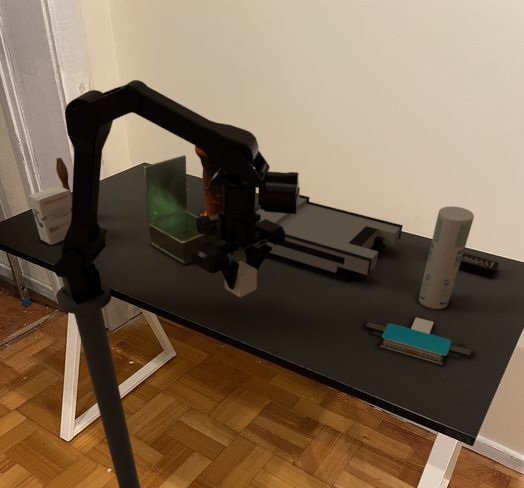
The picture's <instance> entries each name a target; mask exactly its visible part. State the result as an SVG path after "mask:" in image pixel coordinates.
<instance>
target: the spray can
mask: <svg viewBox="0 0 524 488" xmlns="http://www.w3.org/2000/svg"><path fill="white" fill-rule="evenodd" d="M474 219H475V214H474V213H473V211H471V210H469V209H468V208H465V207H462V206H461V207H460V206H444V207H441V208H440V209H438V213H437V217H436V222H435V227H434V230H433V235H432V238H431V239H432V240H431V244H430V248H429V251H428V257H427V260H426V265H425V269H424V274H423V278H422V282H421V286H420V291H419V295H418V302H419V303H420V304H421V305H422V306H424V307H425V308H429V309H432V310H441V309H445V308H446V307H448V305H449V303H450V300H451V297H452V294H453V293H452V292H453V290H454V286H455V283H456V281H457V280H456V279H457V275H458V272H459V266H460V263H461V259H462V256H463V253H465V250H466V249H465V248H466V245H467V242H468V239H469V236H470V235H469V234H470V232H471V228H472V226H473V221H474Z"/></svg>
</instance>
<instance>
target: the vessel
mask: <svg viewBox="0 0 524 488" xmlns="http://www.w3.org/2000/svg"><path fill="white" fill-rule="evenodd" d="M194 151H195V154H196V156H197V157H198V158H199V160H200V164H201V167H202V175H201V177H202V184H203V193H204V200H205V210H204V211H203V213H200V214H199V215H200V216H203V215H204V216H206V215H208V216H209V217H210V216H213V215H215V214H219V212H222V211H224V206H223V185H214V184H211V180H212V178H213V176H214V175H215V174H216V173H217V172H218V171H219V170H220V167H219V166H217V165H216V164H215V163H213V162H212V161H211V160H210V159H209V158H208V156H207V155H206V154H205V153H204V152H203V151H202V150H201V149H200V148H198V147H197V146H195V145H194Z"/></svg>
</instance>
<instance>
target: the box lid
mask: <svg viewBox="0 0 524 488" xmlns="http://www.w3.org/2000/svg"><path fill="white" fill-rule="evenodd" d="M143 172H144V173H143V175H144V186H145V187H144V188H145V189H144V190H145V201H146V216H147V223H148V224H151V223H153V222H156V221H159V220H162V219H165V218H168V217H170V216H173V215H176V214H179V213H182V212H184V211H187V210H188V207H187V206H188V204H187V203H188V202H187V200H188V199H187V197H188V196H187V195H188V194H187V156H186V154H185V155H184V154H183V155H181V156H177V157H173V158H169V159H165V160H163V161H159V162H155V163H152V164H148V165H145V166H143Z"/></svg>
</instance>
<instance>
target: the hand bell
mask: <svg viewBox="0 0 524 488" xmlns="http://www.w3.org/2000/svg"><path fill="white" fill-rule="evenodd" d="M55 168H56V169H55V171H56V173H57V176H58V179H59V180H60V182H61V185H62V187H63V188H65V189H68V190H70V193H71V198H72V190H71V188H70V184H69V171H68V168H67V165H66V163H65V162H64V160H63V158H62V157H57V158H56V163H55Z"/></svg>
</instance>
